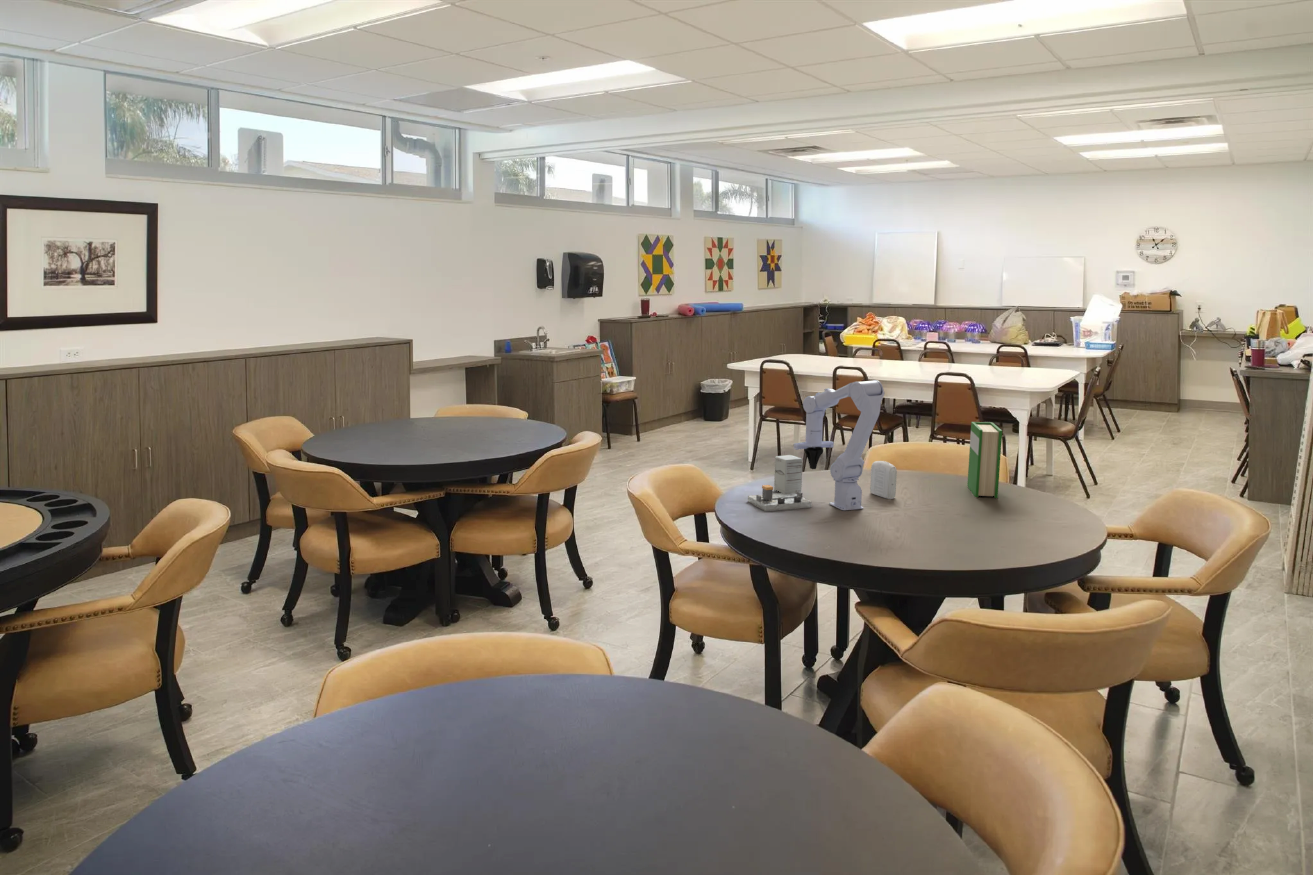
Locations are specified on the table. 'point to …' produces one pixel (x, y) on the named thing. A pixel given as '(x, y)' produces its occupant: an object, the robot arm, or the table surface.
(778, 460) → the supplement box
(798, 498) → the console
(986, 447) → the hardback book
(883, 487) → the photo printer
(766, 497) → the fader tab
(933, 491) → the table surface
